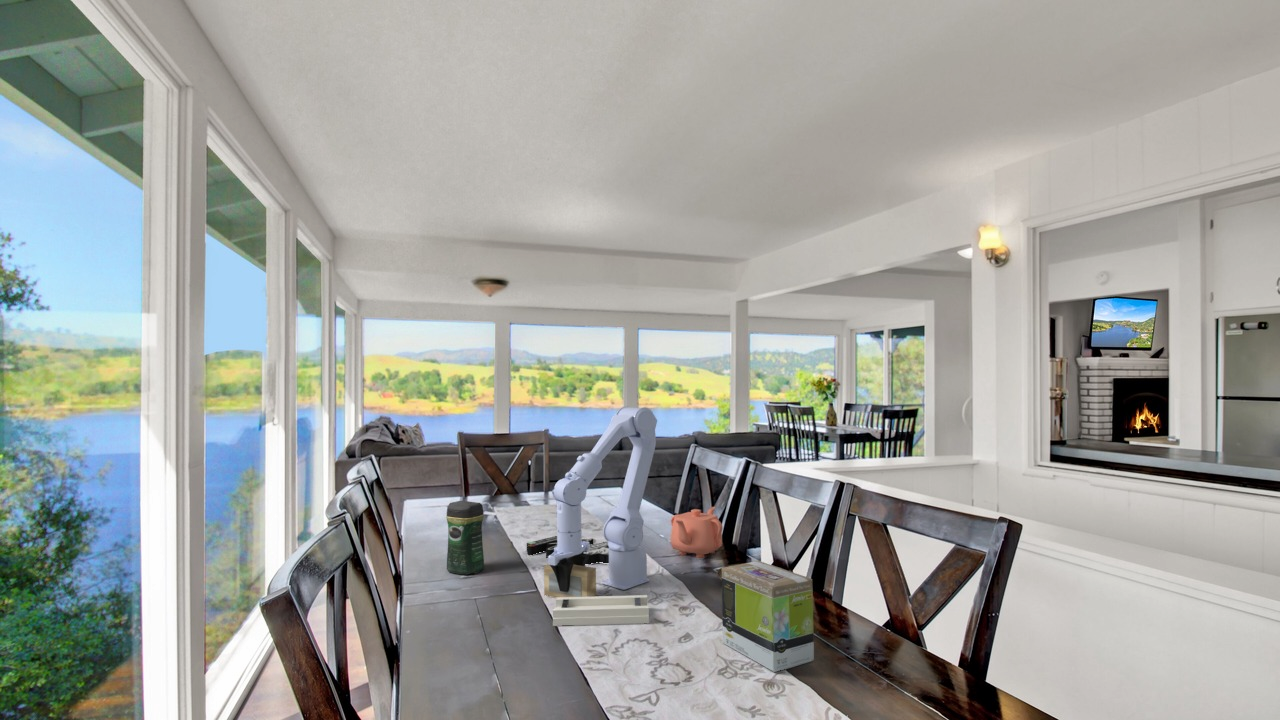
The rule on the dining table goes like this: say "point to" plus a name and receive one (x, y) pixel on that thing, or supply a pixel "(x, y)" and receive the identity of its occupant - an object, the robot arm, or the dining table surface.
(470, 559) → the coffee jar
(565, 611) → the cream rectangular frame
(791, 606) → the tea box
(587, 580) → the beige rectangular panel
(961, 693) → the dining table surface
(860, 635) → the dining table surface
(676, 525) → the teapot
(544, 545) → the sign
